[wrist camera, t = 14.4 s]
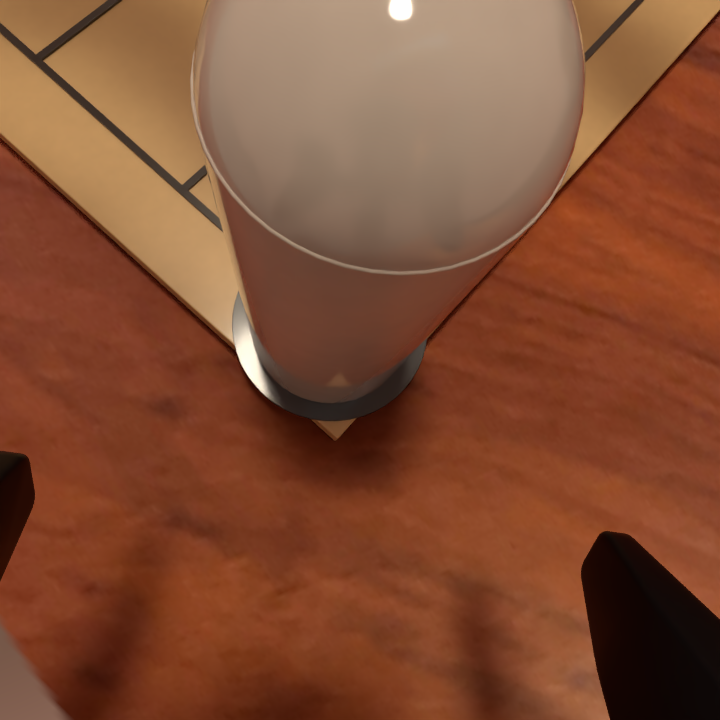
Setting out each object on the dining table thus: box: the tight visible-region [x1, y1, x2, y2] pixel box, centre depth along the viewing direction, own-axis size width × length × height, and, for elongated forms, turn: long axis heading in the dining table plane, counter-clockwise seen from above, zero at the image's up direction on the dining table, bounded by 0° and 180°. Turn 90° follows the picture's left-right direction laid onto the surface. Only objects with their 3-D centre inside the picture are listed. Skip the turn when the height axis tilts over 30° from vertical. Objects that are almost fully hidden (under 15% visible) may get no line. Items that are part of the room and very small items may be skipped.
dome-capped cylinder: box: [190, 0, 586, 403], centre depth 11 cm, size 5×5×13 cm
